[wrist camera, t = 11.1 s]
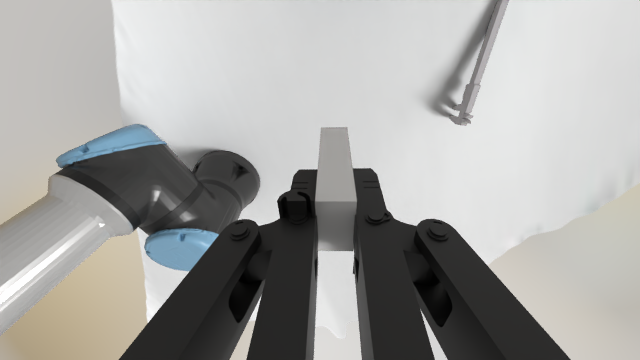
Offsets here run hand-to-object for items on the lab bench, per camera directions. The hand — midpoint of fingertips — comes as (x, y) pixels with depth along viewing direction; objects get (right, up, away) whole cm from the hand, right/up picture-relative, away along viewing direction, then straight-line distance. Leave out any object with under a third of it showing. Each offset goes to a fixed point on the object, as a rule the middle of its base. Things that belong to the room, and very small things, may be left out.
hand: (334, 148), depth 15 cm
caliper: (+26, +19, +28) cm, 43 cm away
